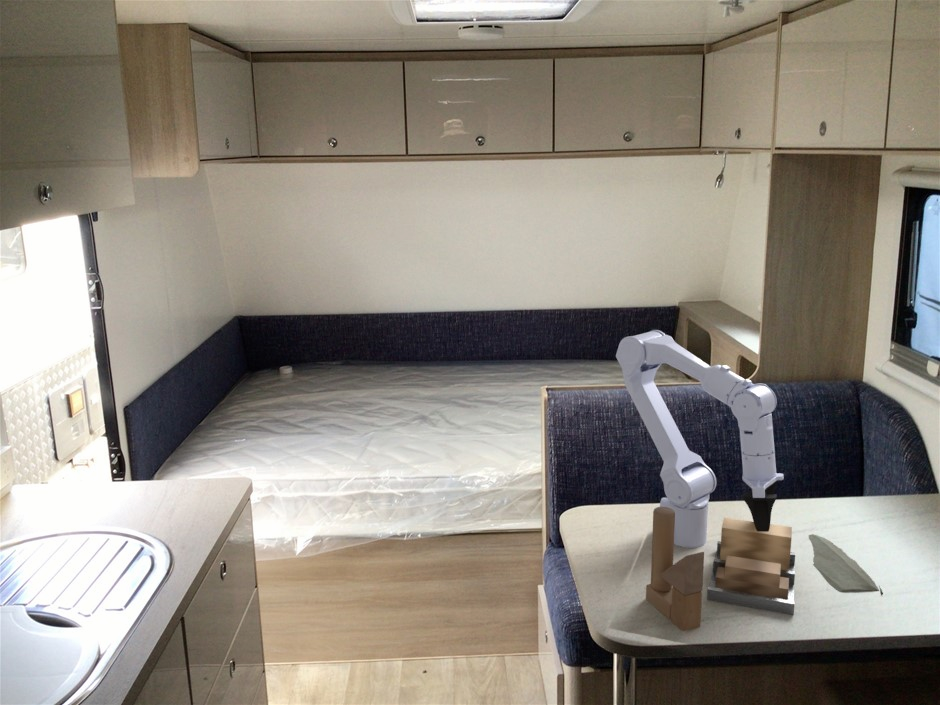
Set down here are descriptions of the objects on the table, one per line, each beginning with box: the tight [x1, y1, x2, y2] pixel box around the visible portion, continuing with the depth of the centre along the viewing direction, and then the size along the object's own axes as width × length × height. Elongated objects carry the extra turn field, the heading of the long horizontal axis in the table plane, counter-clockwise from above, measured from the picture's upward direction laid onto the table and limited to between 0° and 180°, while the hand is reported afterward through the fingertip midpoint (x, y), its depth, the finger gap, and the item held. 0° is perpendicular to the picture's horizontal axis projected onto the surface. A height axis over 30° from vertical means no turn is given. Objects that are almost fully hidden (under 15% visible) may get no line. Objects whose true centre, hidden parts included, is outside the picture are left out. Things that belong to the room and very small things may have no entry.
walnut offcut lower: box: [715, 567, 789, 600], centre depth 140 cm, size 12×4×2 cm, turn 68°
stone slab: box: [808, 534, 884, 595], centre depth 150 cm, size 22×3×10 cm
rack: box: [706, 540, 796, 616], centre depth 143 cm, size 14×19×3 cm
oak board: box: [720, 517, 793, 571], centre depth 147 cm, size 12×4×8 cm, turn 68°
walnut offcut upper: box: [725, 555, 781, 588], centre depth 139 cm, size 9×4×2 cm, turn 68°
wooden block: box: [645, 506, 705, 632], centre depth 132 cm, size 4×11×18 cm, turn 22°
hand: (763, 523), depth 146 cm, fingers open, 7 cm apart
